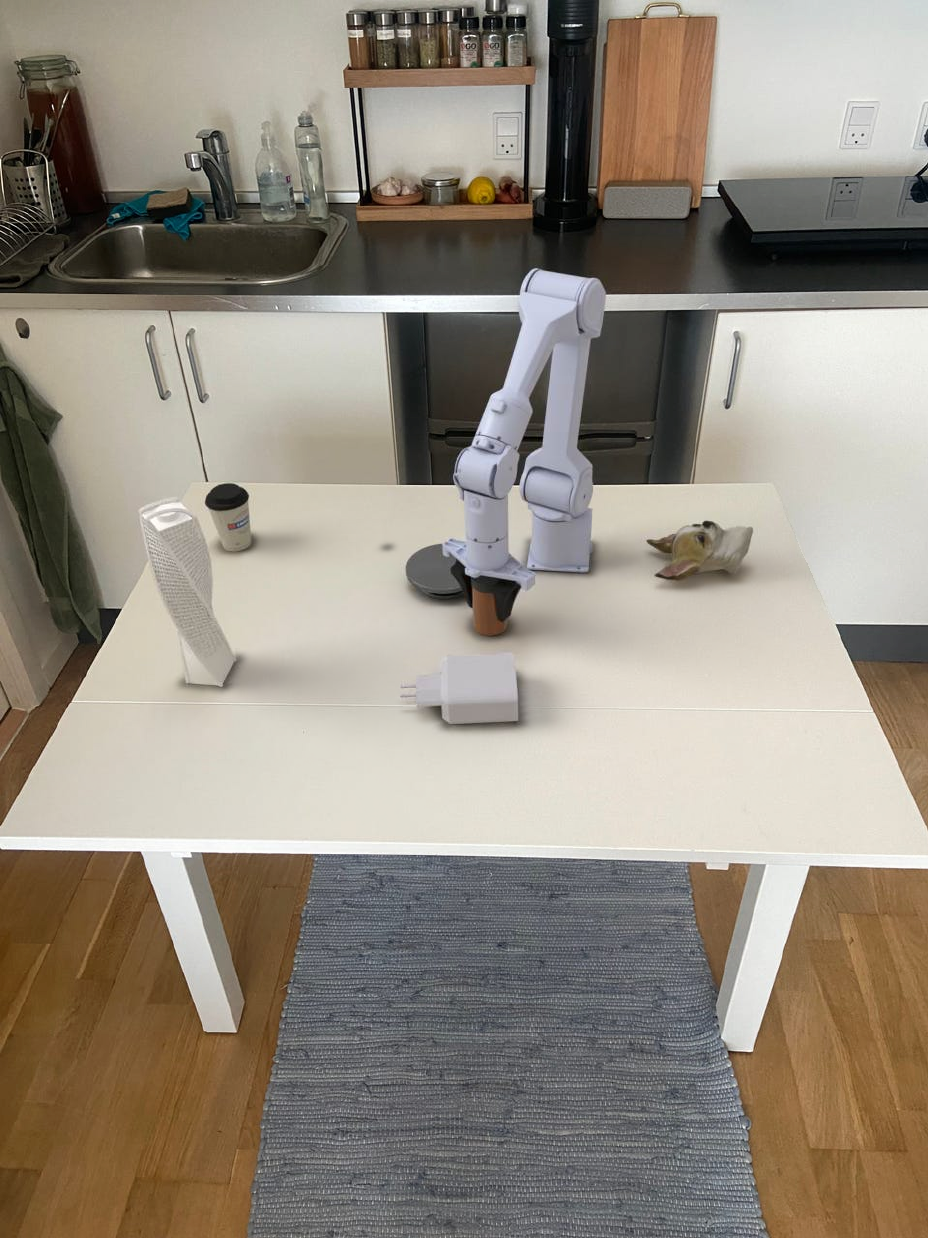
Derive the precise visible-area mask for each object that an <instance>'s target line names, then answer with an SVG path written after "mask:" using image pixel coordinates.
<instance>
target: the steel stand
mask: <svg viewBox="0 0 928 1238" xmlns="http://www.w3.org/2000/svg"><path fill="white" fill-rule="evenodd" d="M442 544H443V543H436V544H431V545H428V546H425V547H422V548H420V549H419V550H417V551H415V552H414V553H413V554H411V556H410V557H409V558H408V559H407V561H406V564H405V576H406V578H407V580H408V582H409V583H410V584H411V585H413V586H414V587H415V588H417V590H419V592H421V593H422V594H423V595H424V596H427V597H429V598H432V599H437V600H452V599H457V598H459V597H462V596H465V595H464V593H463V591H462V588H461V586H460V585H459V583H458V581H457V580H456V579H455V577H454V576H453V575H452V574H451V571H450V568H451V567H452V566H453V565H454V564H455V562H456V557H454V556H452V555H451V556H450V557H446V556H444V555H443V547H442Z"/></svg>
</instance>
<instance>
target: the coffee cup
mask: <svg viewBox="0 0 928 1238" xmlns="http://www.w3.org/2000/svg"><path fill="white" fill-rule="evenodd" d="M249 498H250V494H249V492H248V491H247V490H246V488H244V487H243V486H239V484H236V483H231V482H226V483H221V484H218V485H216V486H214V487H212V489H210V491H209V492H208V494H206V495H205V500H204V505H205V507H206V508H207V509H208V511H209V514H210V516H211V519H212V521H213V524H214V526H215V529H216V531H217V534H218V536H219V539H220V541H221V545H222V546H223V549H224V550H226V551H229V552H240V551H244V550H245V549H248V547H250V546H251V545H252V533H251V531H252V530H251V520H250V518H251V517H250V507H249V500H250V499H249Z"/></svg>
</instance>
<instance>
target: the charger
mask: <svg viewBox="0 0 928 1238" xmlns="http://www.w3.org/2000/svg"><path fill="white" fill-rule="evenodd" d="M400 688H401V689H412V688H415V689H416V690H415V691H416V692H410V693H409V692H408V693H407V692H406V693H400V695H399V696H400V698H414V697H415V698H416V707H440V706H441V718H442V719H443V720H444V721H445V722H447V723H448V724H449V725H457V724H458V725H459V724H481V723H482V724H483V723H507V722H519V695H518V694H519V693H518V684H517V671H516V662H515V653H514V652H507V653H506V652H504V653H503V652H501V653H483V654H482V653H480V654H459V655H447V656H446V657H444V658H443V659H442V660H441V661H440V673H436V674H435V673H434V674H417V675H416V683H409V684H408V683H407V684H401V685H400Z"/></svg>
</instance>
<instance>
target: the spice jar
mask: <svg viewBox="0 0 928 1238" xmlns="http://www.w3.org/2000/svg"><path fill="white" fill-rule="evenodd" d="M499 580H501V578H495V577H489V576H483V575H480V576H479V577H477V578H473V577H471V585H472V607H473V608H472V624H473V625H472V626H473V629H474V631H475V632H476V633H478V634H479V635H482V636H487V637H488V636H489V637H492V636H497V635H499V634H501V633H503V632H505V630H506V628H507V625H508V624H507V623H508V622H507V620H508V618H507V619H506V620H505V621H504V622H500V621H499V620H498V617H497V604H496V600H495V597H494V594H493V592H492V590H491V587H492V586H493V585H494V584H495V583H496V582H498V581H499Z"/></svg>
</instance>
